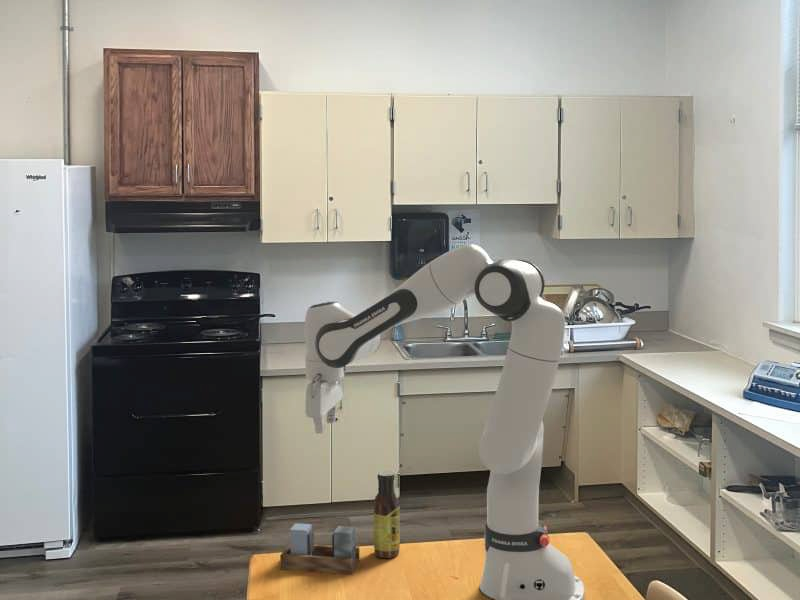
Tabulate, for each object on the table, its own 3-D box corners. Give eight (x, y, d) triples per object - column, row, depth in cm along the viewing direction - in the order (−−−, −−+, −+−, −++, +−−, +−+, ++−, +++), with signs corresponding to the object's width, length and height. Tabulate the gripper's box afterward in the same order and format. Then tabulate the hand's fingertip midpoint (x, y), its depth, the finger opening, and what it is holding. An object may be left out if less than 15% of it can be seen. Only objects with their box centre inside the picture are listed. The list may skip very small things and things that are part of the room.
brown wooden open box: (359, 561, 207) (358, 524, 206) (351, 574, 199) (351, 536, 198) (290, 556, 210) (289, 520, 209) (280, 569, 202) (279, 531, 201)
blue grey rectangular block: (314, 557, 207) (314, 524, 206) (309, 563, 203) (309, 530, 202) (296, 555, 208) (295, 523, 207) (290, 562, 204) (290, 529, 203)
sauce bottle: (396, 560, 207) (395, 478, 205) (371, 558, 208) (369, 477, 206) (402, 549, 213) (401, 470, 211) (377, 547, 214) (376, 469, 212)
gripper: (325, 379, 196) (326, 439, 197) (348, 362, 215) (349, 417, 217) (297, 378, 197) (299, 438, 198) (323, 362, 217) (324, 416, 218)
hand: (325, 427), depth 208 cm, fingers open, 8 cm apart
